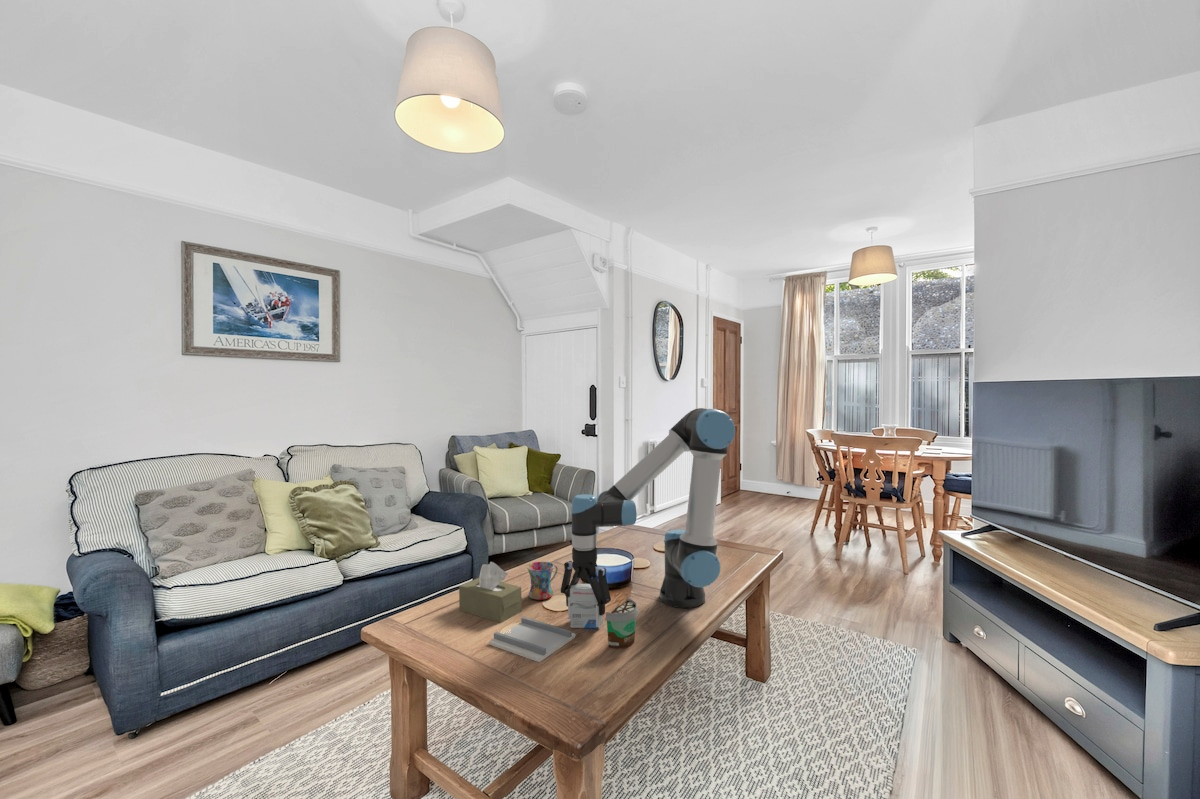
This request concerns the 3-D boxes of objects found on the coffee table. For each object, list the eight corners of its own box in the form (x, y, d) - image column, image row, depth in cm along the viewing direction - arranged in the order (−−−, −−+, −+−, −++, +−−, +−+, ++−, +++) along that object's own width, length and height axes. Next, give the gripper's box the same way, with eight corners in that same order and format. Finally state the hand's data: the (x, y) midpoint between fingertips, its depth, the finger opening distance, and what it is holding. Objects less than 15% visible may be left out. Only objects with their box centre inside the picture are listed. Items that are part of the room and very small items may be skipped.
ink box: (600, 621, 155) (599, 583, 155) (598, 629, 150) (598, 589, 150) (572, 620, 156) (572, 582, 156) (570, 628, 151) (569, 588, 151)
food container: (625, 655, 135) (625, 617, 135) (605, 649, 139) (605, 612, 138) (646, 636, 146) (646, 601, 146) (627, 631, 149) (627, 597, 149)
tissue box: (522, 611, 163) (522, 562, 163) (501, 623, 155) (500, 572, 155) (480, 599, 173) (479, 553, 173) (458, 610, 165) (457, 561, 165)
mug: (538, 604, 169) (538, 572, 169) (521, 596, 175) (521, 566, 175) (566, 594, 177) (565, 563, 177) (549, 587, 184) (548, 557, 184)
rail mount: (575, 637, 146) (575, 628, 146) (539, 662, 132) (539, 652, 132) (527, 622, 155) (527, 614, 155) (489, 644, 142) (489, 635, 142)
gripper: (622, 549, 150) (623, 625, 150) (562, 538, 162) (563, 608, 162) (609, 556, 144) (610, 635, 144) (547, 544, 156) (548, 617, 156)
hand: (585, 621), depth 153 cm, fingers closed on ink box, 9 cm apart
